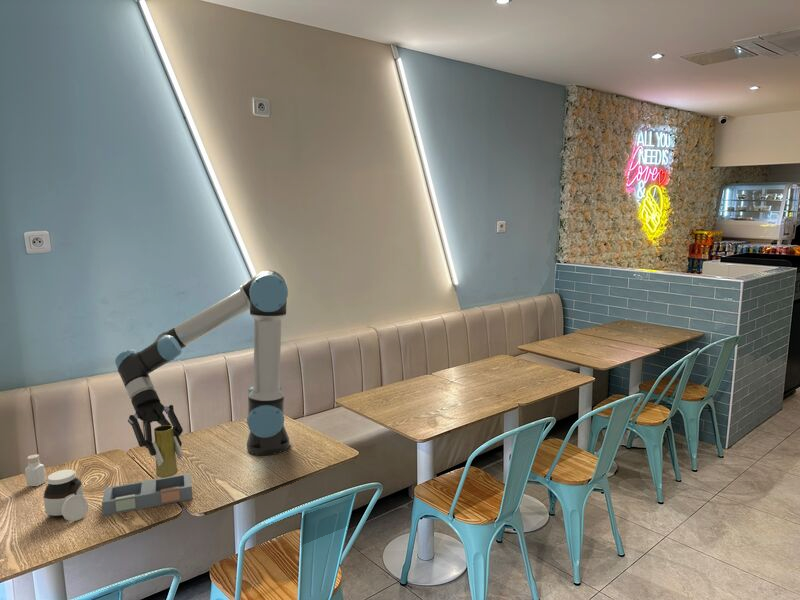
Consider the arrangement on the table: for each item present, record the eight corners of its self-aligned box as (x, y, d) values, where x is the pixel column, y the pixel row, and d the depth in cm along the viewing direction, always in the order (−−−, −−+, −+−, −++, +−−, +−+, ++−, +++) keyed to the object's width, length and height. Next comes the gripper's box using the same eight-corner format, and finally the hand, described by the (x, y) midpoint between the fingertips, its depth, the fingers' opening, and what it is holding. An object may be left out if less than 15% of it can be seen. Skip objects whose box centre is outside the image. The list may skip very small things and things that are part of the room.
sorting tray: (191, 484, 183) (190, 471, 183) (192, 499, 174) (191, 486, 173) (106, 500, 175) (105, 486, 174) (103, 516, 165) (101, 502, 164)
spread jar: (63, 504, 173) (58, 467, 171) (100, 503, 173) (96, 466, 171) (37, 525, 161) (32, 486, 160) (77, 525, 161) (72, 485, 159)
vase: (152, 473, 175) (148, 428, 173) (172, 467, 180) (168, 422, 178) (161, 479, 171) (158, 433, 169) (181, 472, 176) (178, 427, 173)
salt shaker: (37, 487, 184) (33, 459, 183) (26, 487, 185) (22, 458, 183) (47, 482, 188) (43, 454, 186) (36, 481, 189) (32, 453, 187)
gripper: (168, 394, 190) (196, 456, 181) (109, 409, 176) (136, 476, 168) (175, 382, 185) (204, 444, 176) (114, 395, 172) (143, 464, 163)
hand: (171, 460), depth 172 cm, fingers closed on vase, 5 cm apart
